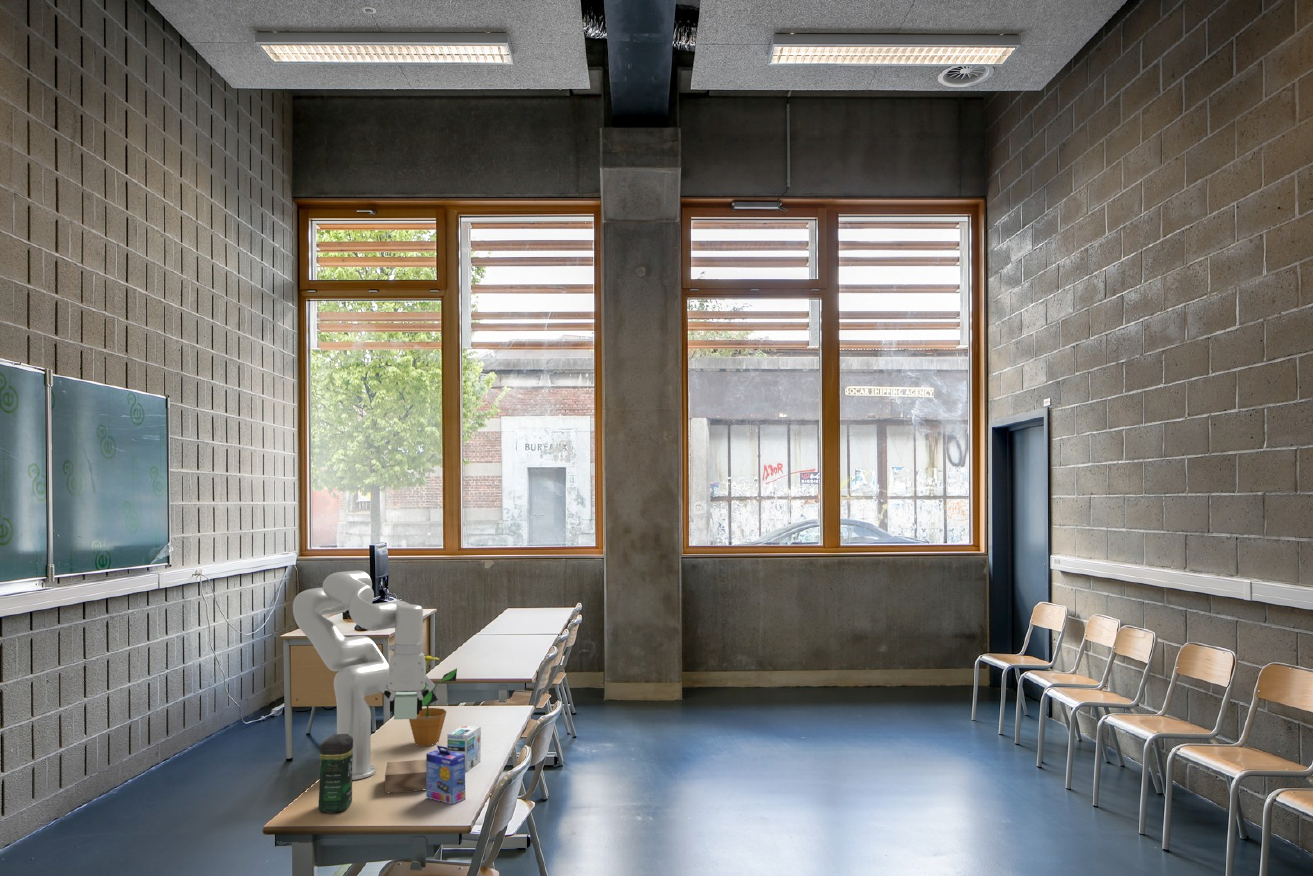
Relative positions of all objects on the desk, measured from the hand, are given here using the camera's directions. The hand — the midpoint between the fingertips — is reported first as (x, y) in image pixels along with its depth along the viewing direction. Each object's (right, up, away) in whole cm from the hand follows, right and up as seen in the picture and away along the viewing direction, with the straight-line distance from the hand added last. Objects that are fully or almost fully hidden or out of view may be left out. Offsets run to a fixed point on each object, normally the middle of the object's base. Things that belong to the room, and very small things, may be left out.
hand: (406, 713), depth 254 cm
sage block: (0, -1, 0) cm, 1 cm away
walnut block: (0, -21, +2) cm, 21 cm away
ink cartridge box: (+13, -21, -9) cm, 26 cm away
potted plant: (-5, -24, +44) cm, 51 cm away
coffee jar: (-14, -20, -15) cm, 29 cm away
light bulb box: (+12, -22, +20) cm, 32 cm away
